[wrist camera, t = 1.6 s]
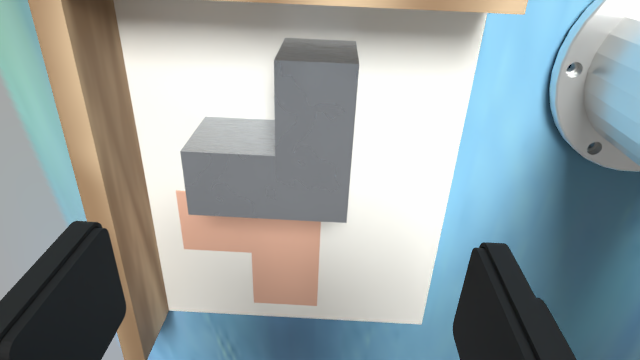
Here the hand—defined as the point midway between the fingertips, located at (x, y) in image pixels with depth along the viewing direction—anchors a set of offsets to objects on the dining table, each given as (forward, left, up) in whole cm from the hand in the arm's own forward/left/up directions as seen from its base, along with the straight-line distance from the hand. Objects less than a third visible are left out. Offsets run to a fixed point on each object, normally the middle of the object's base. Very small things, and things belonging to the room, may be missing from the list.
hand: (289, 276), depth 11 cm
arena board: (+2, +6, -18) cm, 19 cm away
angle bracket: (+2, +2, -17) cm, 17 cm away
